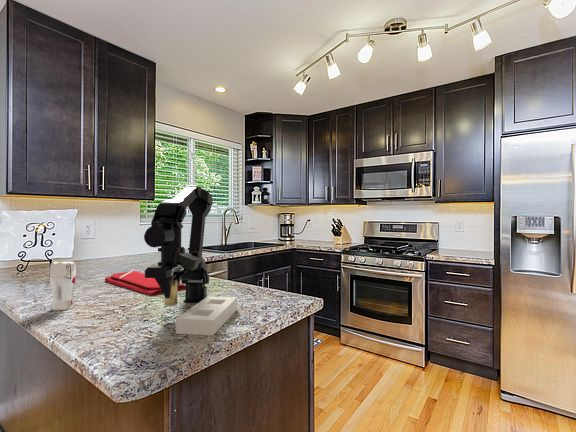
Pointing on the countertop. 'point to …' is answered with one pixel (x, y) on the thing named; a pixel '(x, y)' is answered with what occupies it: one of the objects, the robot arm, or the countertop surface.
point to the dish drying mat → (137, 283)
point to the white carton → (62, 284)
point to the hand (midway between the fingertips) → (171, 296)
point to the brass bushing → (172, 295)
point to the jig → (206, 316)
